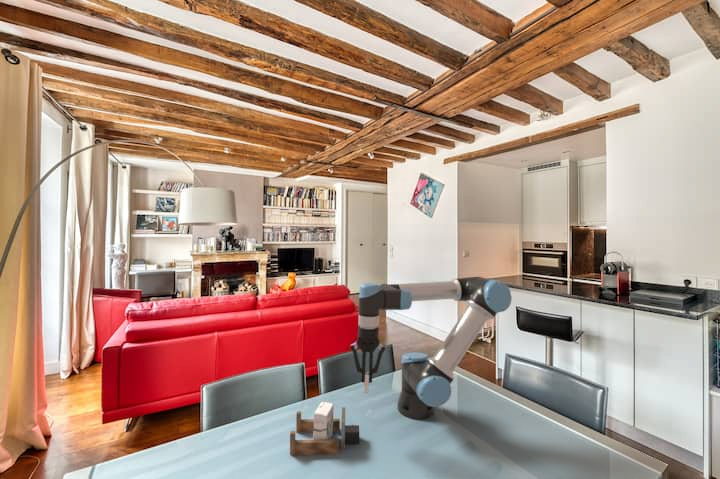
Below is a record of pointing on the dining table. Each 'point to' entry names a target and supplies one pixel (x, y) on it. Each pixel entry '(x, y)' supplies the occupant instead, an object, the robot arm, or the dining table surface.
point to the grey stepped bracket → (348, 432)
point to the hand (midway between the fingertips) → (366, 391)
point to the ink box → (323, 421)
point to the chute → (312, 445)
